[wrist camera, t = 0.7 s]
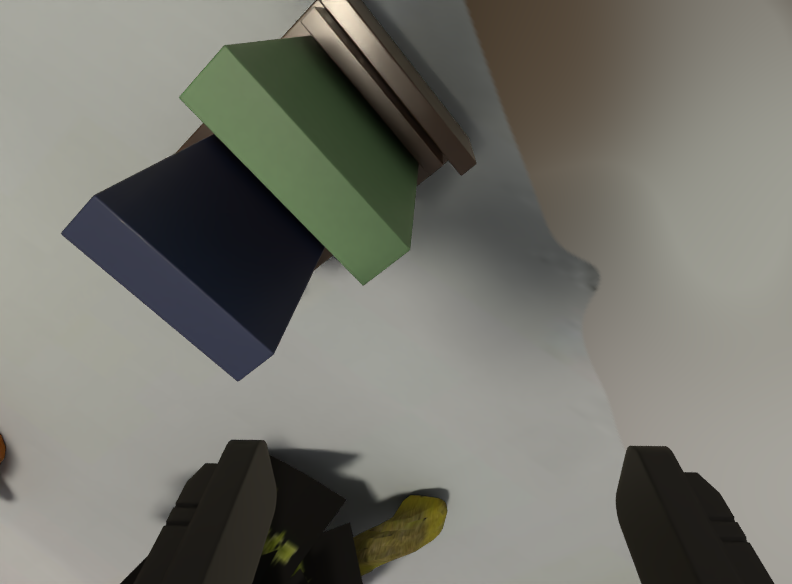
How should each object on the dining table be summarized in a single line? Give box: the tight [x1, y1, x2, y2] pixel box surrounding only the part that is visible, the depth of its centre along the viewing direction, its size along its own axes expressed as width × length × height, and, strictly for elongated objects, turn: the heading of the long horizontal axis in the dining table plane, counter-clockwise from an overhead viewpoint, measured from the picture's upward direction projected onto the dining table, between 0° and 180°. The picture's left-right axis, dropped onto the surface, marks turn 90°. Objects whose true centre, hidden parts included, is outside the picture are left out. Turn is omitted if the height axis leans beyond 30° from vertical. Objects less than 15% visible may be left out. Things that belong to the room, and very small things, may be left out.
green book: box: [179, 35, 419, 285], centre depth 23 cm, size 2×9×13 cm, turn 41°
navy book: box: [61, 134, 325, 381], centre depth 26 cm, size 2×9×13 cm, turn 41°
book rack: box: [176, 0, 476, 270], centre depth 29 cm, size 16×11×6 cm
